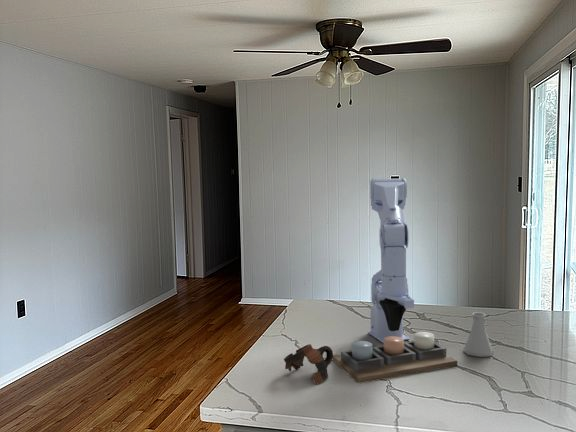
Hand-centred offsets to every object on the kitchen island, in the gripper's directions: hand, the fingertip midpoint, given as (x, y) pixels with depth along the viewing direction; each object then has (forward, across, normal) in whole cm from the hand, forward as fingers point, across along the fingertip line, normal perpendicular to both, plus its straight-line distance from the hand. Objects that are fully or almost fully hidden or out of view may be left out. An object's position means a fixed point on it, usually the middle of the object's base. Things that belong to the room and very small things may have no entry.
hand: (393, 330), depth 125 cm
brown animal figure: (+9, -1, -21) cm, 23 cm away
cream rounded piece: (+6, 0, +8) cm, 10 cm away
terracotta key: (+6, 0, 0) cm, 6 cm away
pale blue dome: (+6, 0, -8) cm, 10 cm away
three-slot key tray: (+8, 0, 0) cm, 8 cm away
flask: (+8, +2, +23) cm, 25 cm away
